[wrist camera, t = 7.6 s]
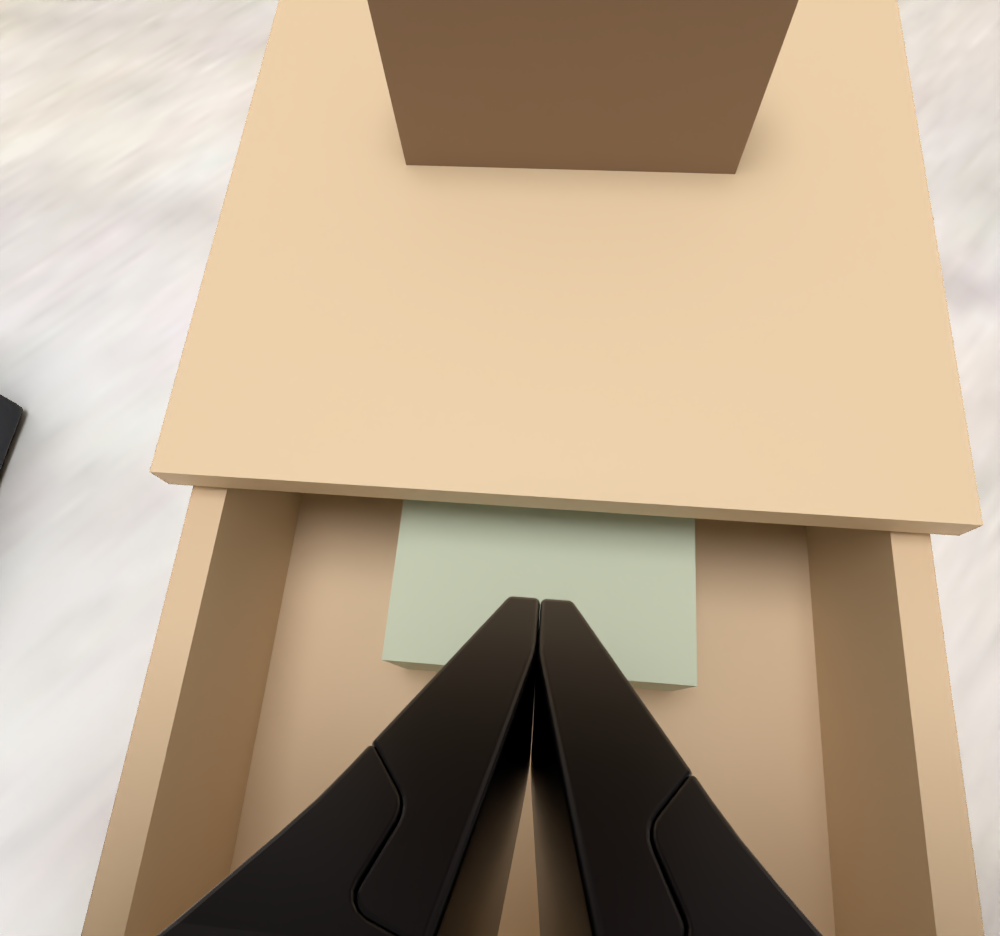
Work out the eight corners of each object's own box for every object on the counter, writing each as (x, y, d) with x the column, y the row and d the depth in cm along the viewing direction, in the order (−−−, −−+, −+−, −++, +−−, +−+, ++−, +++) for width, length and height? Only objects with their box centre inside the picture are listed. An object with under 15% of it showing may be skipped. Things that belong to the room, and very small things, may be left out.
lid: (959, 535, 14) (1231, 418, 8) (168, 484, 15) (-38, 352, 10) (860, -122, 21) (974, -416, 15) (327, -119, 22) (259, -391, 17)
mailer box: (870, 1033, 15) (1016, 1172, 11) (190, 952, 17) (53, 1044, 12) (807, 285, 22) (880, 169, 17) (328, 266, 23) (276, 153, 19)
